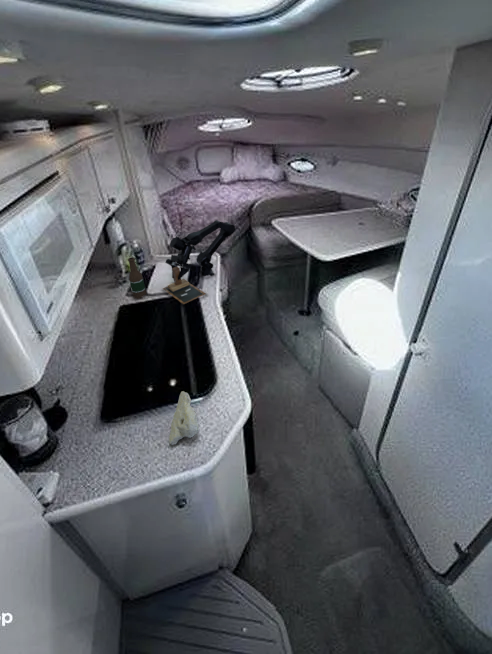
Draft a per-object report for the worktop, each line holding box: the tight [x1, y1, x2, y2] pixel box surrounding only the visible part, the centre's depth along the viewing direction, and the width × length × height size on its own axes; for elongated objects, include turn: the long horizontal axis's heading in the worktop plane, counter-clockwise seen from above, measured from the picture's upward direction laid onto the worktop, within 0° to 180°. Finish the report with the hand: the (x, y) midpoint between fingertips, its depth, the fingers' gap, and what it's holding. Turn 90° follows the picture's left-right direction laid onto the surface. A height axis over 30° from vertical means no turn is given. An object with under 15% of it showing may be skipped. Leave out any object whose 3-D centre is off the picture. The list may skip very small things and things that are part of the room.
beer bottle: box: [127, 257, 147, 300], centre depth 188 cm, size 8×8×24 cm
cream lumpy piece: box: [168, 390, 200, 446], centre depth 113 cm, size 15×7×15 cm
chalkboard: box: [161, 282, 207, 305], centre depth 194 cm, size 24×15×1 cm, turn 41°
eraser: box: [166, 266, 190, 293], centre depth 194 cm, size 6×11×13 cm, turn 131°
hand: (175, 278), depth 192 cm, fingers closed on eraser, 4 cm apart
